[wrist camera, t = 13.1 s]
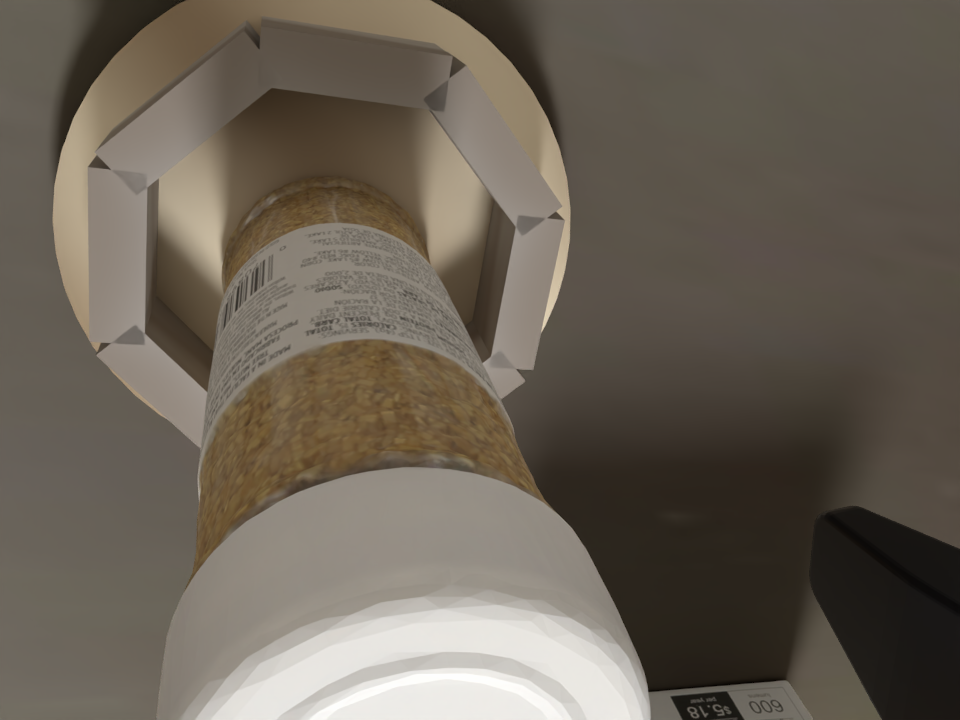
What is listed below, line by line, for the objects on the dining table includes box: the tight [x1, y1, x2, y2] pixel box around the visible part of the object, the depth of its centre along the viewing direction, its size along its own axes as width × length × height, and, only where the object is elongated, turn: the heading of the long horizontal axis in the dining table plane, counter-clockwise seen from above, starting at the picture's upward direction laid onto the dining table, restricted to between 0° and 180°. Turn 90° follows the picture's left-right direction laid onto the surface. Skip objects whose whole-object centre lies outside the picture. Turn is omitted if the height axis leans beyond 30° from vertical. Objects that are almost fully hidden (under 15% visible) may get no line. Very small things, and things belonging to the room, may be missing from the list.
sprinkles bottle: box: [156, 176, 651, 720], centre depth 14 cm, size 5×5×13 cm
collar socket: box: [53, 0, 570, 449], centre depth 19 cm, size 11×11×3 cm
